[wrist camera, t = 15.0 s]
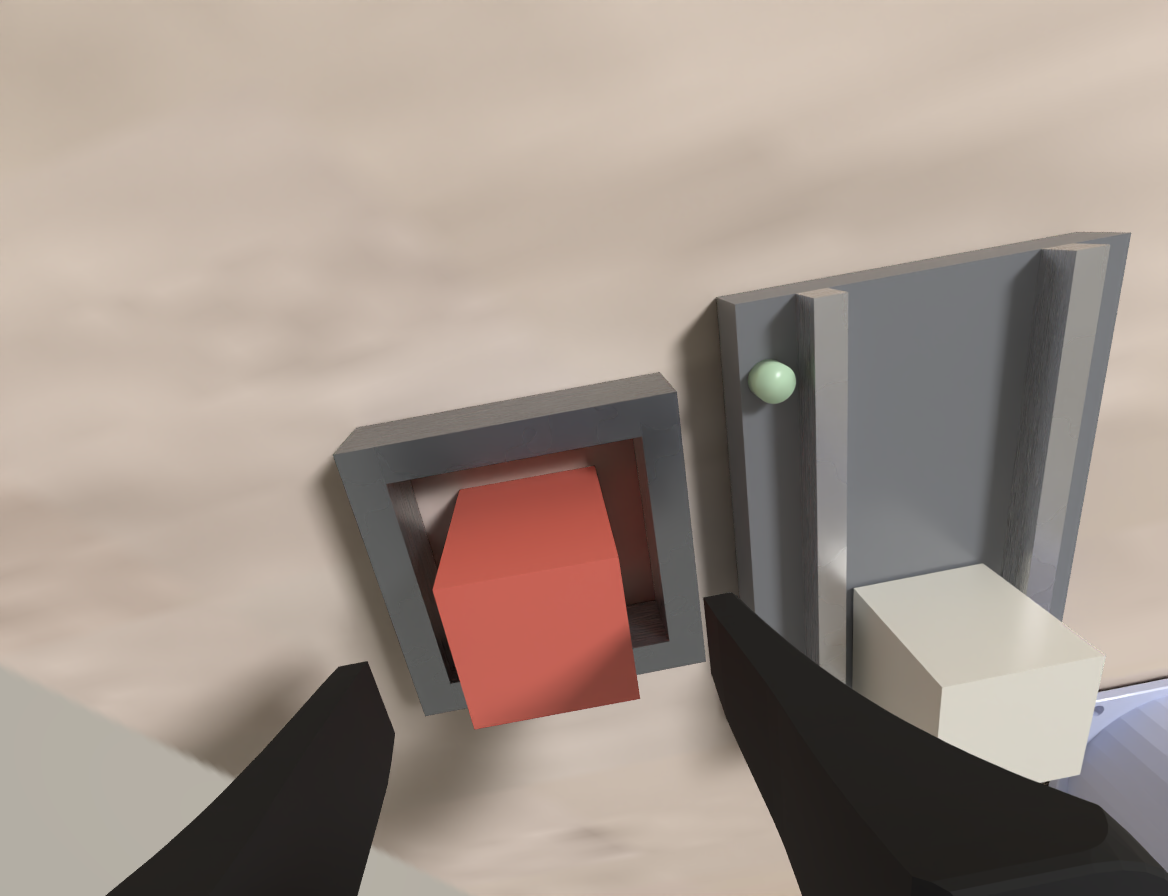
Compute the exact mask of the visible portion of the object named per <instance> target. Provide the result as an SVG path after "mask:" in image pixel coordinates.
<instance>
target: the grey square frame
mask: <svg viewBox="0 0 1168 896" xmlns="http://www.w3.org/2000/svg"><path fill="white" fill-rule="evenodd" d="M631 438H633V443H634V450H635V457H636V464H637V471H638V478H639V486H640V493H641V500H642V507H643V514H644V521H645V528H646V535H647V542H648V549H649V556H650V563H651V570H652V577H653V584H654V591H655V598H656V600H654V601H649V602H644V603H638V604H633V605H628V606H626V609H627V616H628V623H629V629H630V636H631V642H632V649H633V655H634V662H635V668H636V675H639V674H644V673H649V672H654V671H660V670H665V669H670V668H675V667H680V666H685V665H690V664H696V663H701V662H706V658H705V649H704V639H703V630H702V621H701V612H700V602H699V593H698V584H697V574H696V565H695V556H694V547H693V537H692V528H691V519H690V510H689V500H688V491H687V482H686V473H685V463H684V454H683V445H682V435H681V426H680V417H679V408H678V398H677V391H676V390H675V389H674V388H673V387H672V386H671V384H670V383H669V382H668V381H667V380H666V379H665V378H664V377H663V375H662V374H661V373H660V372H658V373H653V374H647V375H642V376H637V377H631V378H626V379H620V380H615V381H609V382H604V383H598V384H593V385H587V386H582V387H577V388H571V389H566V390H560V391H555V392H549V393H544V394H538V395H533V396H527V397H522V398H517V399H511V400H506V401H500V402H495V403H489V404H484V405H478V406H473V407H467V408H462V409H457V410H451V411H446V412H440V413H435V414H429V415H424V416H418V417H413V418H407V419H402V420H397V421H391V422H386V423H380V424H375V425H369V426H364V427H358V428H356V429H355V430H354V431H353V432H352V433H351V434H350V436H349V437H348V438H347V439H346V440H345V441H344V443H343V444H342V445H341V446H340V447H339V448H338V450H337V451H336V452H335V453H334V454H333V456H334V459H335V462H336V465H337V468H338V471H339V473H340V476H341V479H342V482H343V485H344V487H345V490H346V493H347V496H348V499H349V502H350V504H351V507H352V510H353V513H354V516H355V519H356V521H357V524H358V527H359V530H360V533H361V536H362V538H363V541H364V544H365V547H366V550H367V553H368V555H369V558H370V561H371V564H372V567H373V570H374V572H375V575H376V578H377V581H378V584H379V587H380V589H381V592H382V595H383V598H384V601H385V603H386V606H387V609H388V612H389V615H390V618H391V620H392V623H393V626H394V629H395V632H396V635H397V637H398V640H399V643H400V646H401V649H402V652H403V654H404V657H405V660H406V663H407V666H408V669H409V671H410V674H411V677H412V680H413V683H414V686H415V688H416V691H417V694H418V697H419V700H420V703H421V705H422V708H423V711H424V714H425V716H429V715H434V714H439V713H444V712H449V711H454V710H459V709H465V708H468V706H467V703H466V700H465V696H464V693H463V690H462V687H461V683H460V680H459V677H458V673H457V670H456V667H455V663H454V660H453V657H452V653H451V650H450V647H449V643H448V640H447V637H446V633H445V630H444V627H443V624H442V620H441V617H440V614H439V610H438V607H437V604H436V600H435V597H434V594H433V587H434V583H435V579H436V575H437V572H438V570H437V567H436V563H435V560H434V557H433V554H432V550H431V547H430V544H429V541H428V537H427V534H426V531H425V527H424V524H423V521H422V518H421V514H420V511H419V508H418V504H417V501H416V498H415V495H414V491H413V488H412V485H411V481H410V480H411V479H416V478H421V477H427V476H432V475H438V474H443V473H448V472H454V471H459V470H465V469H470V468H475V467H481V466H486V465H491V464H497V463H502V462H508V461H513V460H518V459H524V458H529V457H535V456H540V455H545V454H551V453H556V452H561V451H567V450H572V449H578V448H583V447H588V446H594V445H599V444H605V443H610V442H615V441H621V440H626V439H631Z"/></svg>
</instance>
